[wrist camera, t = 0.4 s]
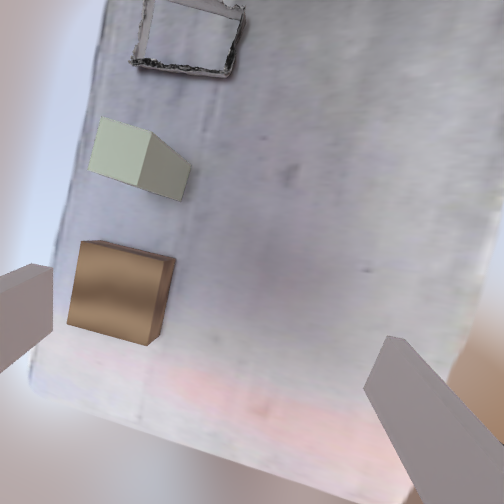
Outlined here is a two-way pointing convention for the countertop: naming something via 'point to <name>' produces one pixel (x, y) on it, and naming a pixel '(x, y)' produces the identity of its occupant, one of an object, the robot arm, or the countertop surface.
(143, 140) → the sage block
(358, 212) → the countertop surface
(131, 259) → the walnut block
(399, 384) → the robot arm
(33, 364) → the countertop surface
